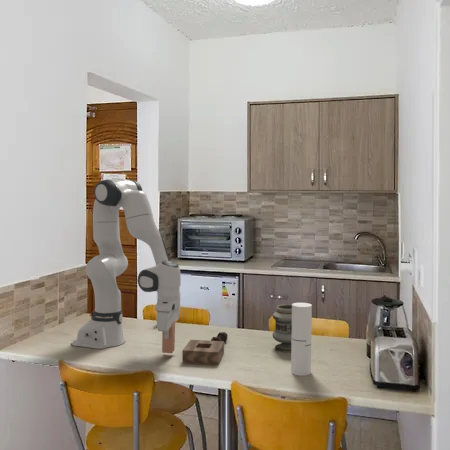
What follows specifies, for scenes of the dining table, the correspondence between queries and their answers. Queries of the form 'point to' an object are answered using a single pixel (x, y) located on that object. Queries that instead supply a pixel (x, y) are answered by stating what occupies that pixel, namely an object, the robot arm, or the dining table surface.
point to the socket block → (203, 352)
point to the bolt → (220, 337)
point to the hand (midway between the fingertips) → (168, 336)
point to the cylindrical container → (301, 339)
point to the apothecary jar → (283, 327)
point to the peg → (169, 340)
